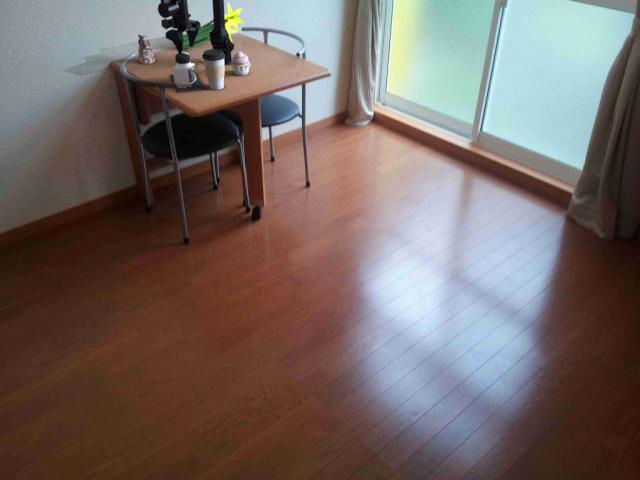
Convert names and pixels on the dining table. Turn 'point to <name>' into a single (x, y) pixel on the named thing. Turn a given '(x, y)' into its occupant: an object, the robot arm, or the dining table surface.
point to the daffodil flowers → (207, 28)
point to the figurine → (145, 50)
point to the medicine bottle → (184, 69)
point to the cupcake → (240, 64)
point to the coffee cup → (214, 68)
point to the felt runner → (195, 85)
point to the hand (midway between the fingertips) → (186, 50)
